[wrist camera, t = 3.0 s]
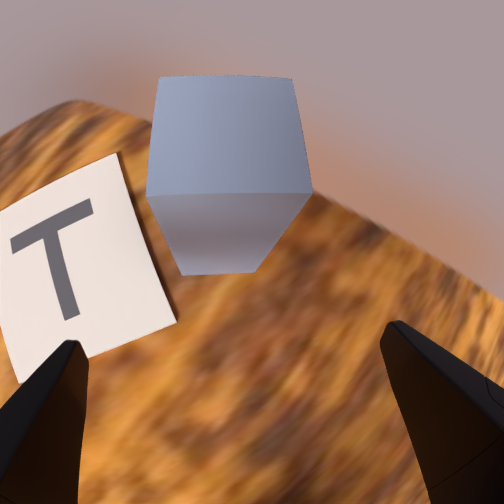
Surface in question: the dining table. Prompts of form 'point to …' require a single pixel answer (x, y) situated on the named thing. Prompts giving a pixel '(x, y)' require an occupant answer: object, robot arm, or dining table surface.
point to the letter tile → (76, 269)
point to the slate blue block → (225, 169)
